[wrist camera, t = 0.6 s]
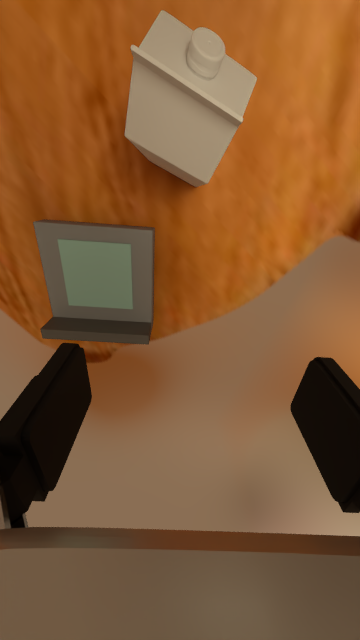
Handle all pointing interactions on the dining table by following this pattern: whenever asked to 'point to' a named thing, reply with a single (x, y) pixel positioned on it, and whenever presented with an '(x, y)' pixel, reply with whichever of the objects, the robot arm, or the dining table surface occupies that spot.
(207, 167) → the milk carton
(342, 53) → the dining table surface
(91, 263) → the plate
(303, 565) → the robot arm
